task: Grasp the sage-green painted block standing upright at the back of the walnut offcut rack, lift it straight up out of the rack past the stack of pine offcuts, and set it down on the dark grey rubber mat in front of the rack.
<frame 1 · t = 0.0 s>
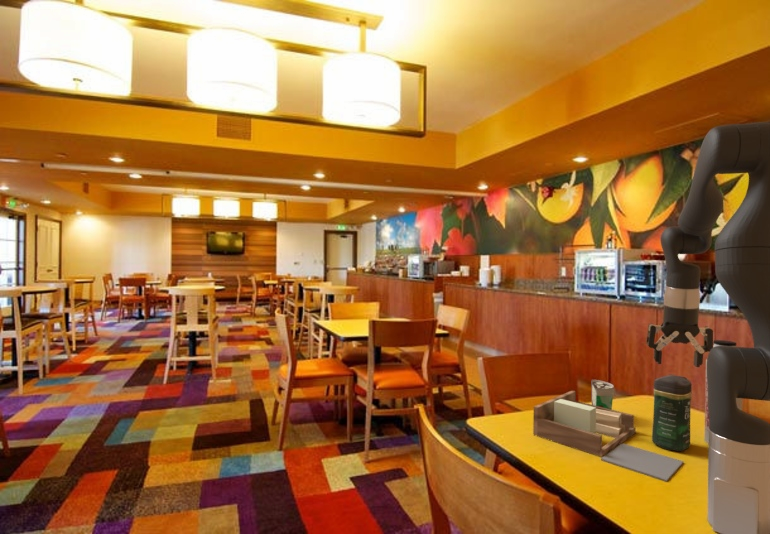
hand: (677, 364, 113), 22 cm above the table, tool pointing down, fingers open, 8 cm apart
food container: (604, 416, 138), on the table
rack: (583, 433, 123), on the table
offcut a: (606, 434, 124), resting in rack
offcut c: (578, 425, 130), resting in rack
offcut b: (606, 423, 125), point 3 cm above the table
thermos bottle: (722, 444, 117), on the table
block: (574, 436, 121), resting in rack
mat: (641, 461, 106), on the table
coffee jar: (671, 446, 116), on the table
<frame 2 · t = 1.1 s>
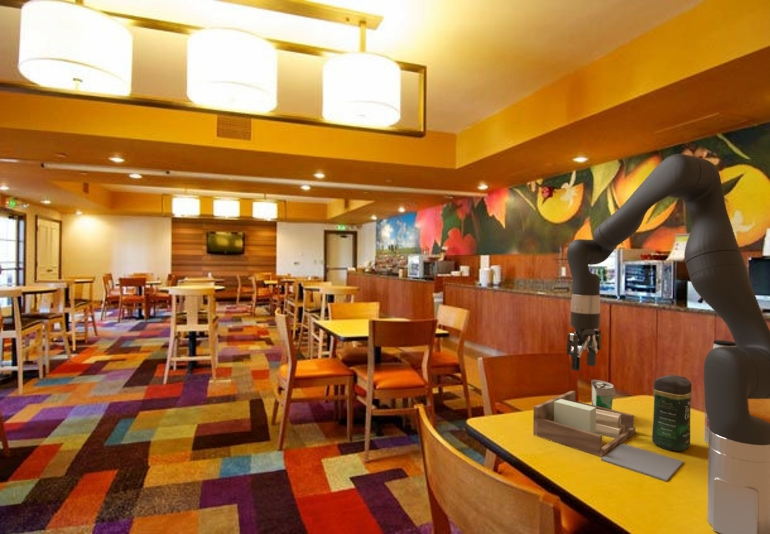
hand: (583, 367, 121), 19 cm above the table, tool pointing down, fingers open, 8 cm apart
offcut a: (606, 434, 124), resting in rack, touching offcut b
offcut b: (605, 423, 124), point 3 cm above the table, touching offcut a
everything else where it was.
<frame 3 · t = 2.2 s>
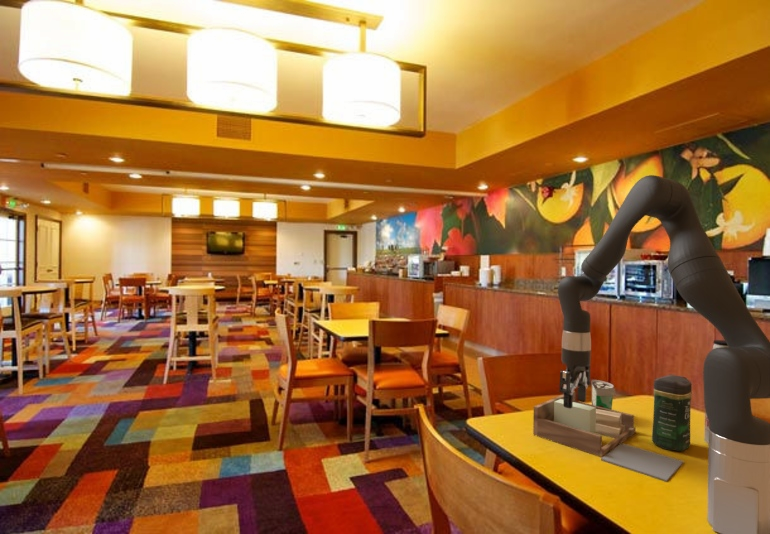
hand: (574, 404, 121), 9 cm above the table, tool pointing down, fingers open, 8 cm apart
nothing on the table moved.
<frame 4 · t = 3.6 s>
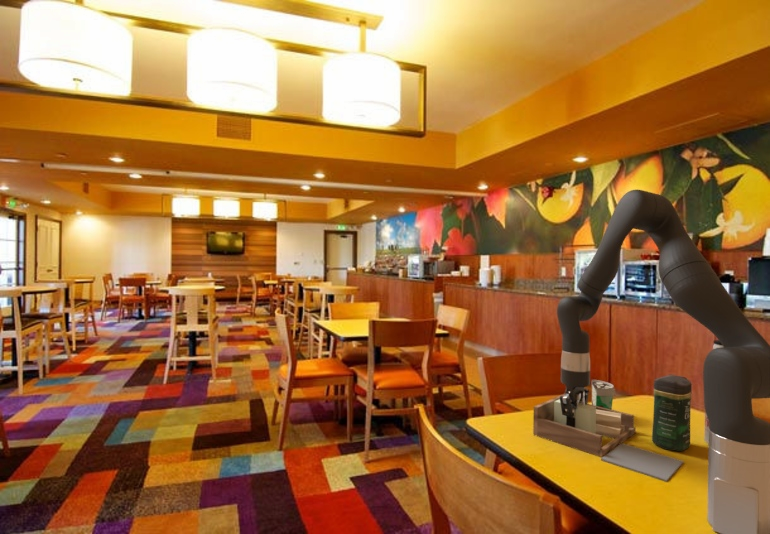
hand: (574, 427, 121), 2 cm above the table, tool pointing down, fingers closed on block, 4 cm apart
block: (574, 436, 121), resting in rack, touching gripper
everything else where it was.
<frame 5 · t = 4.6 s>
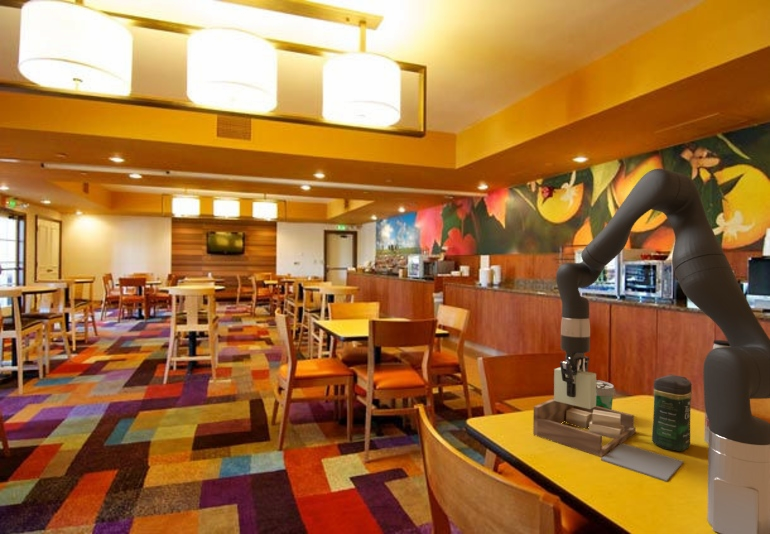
hand: (574, 394, 121), 12 cm above the table, tool pointing down, fingers closed on block, 4 cm apart
block: (574, 403, 121), point 9 cm above the table, touching gripper
everything else where it was.
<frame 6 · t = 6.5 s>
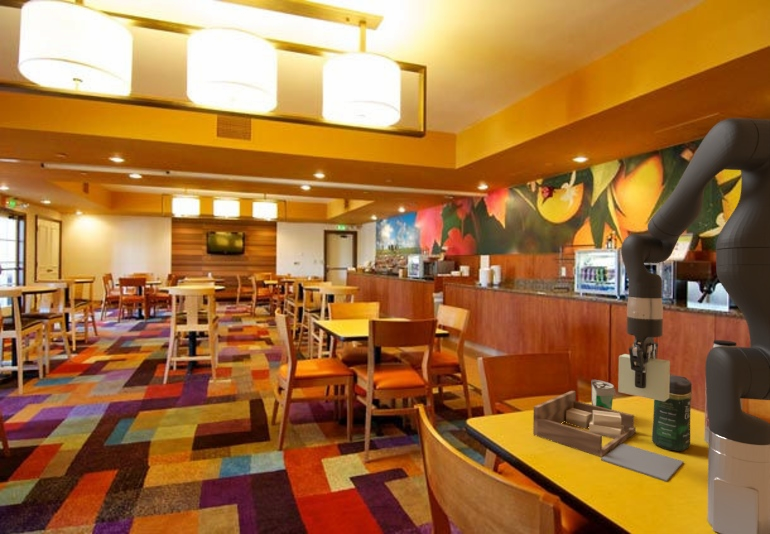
hand: (643, 385, 106), 19 cm above the table, tool pointing down, fingers closed on block, 4 cm apart
block: (643, 394, 106), point 16 cm above the table, touching gripper
everything else where it was.
when the fingers open (4 cm above the table, at t = 9.1 s): block stays where it is, resting on mat.
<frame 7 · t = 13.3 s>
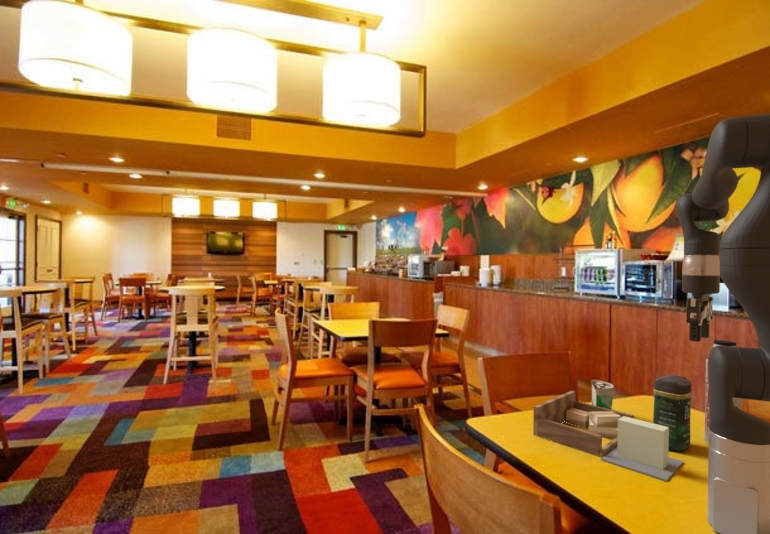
hand: (699, 339, 106), 30 cm above the table, tool pointing down, fingers open, 8 cm apart
block: (642, 459, 106), resting on mat
at the end: block inside the target area on the mat (0.0 cm from its centre), point 0.4 cm above the mat's base; block tilted 0°; the gripper is holding nothing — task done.
